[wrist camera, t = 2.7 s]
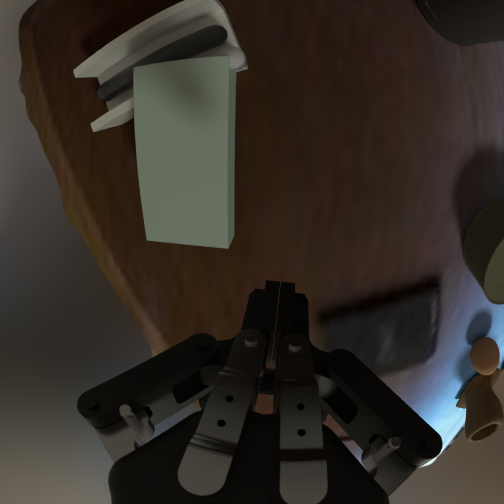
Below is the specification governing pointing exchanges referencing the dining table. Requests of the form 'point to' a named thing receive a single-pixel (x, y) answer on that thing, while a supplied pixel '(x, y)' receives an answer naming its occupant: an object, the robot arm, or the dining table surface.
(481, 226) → the can
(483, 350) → the egg
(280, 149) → the dining table surface
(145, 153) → the cover
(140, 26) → the curved white channel
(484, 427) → the brown boot
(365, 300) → the dining table surface
